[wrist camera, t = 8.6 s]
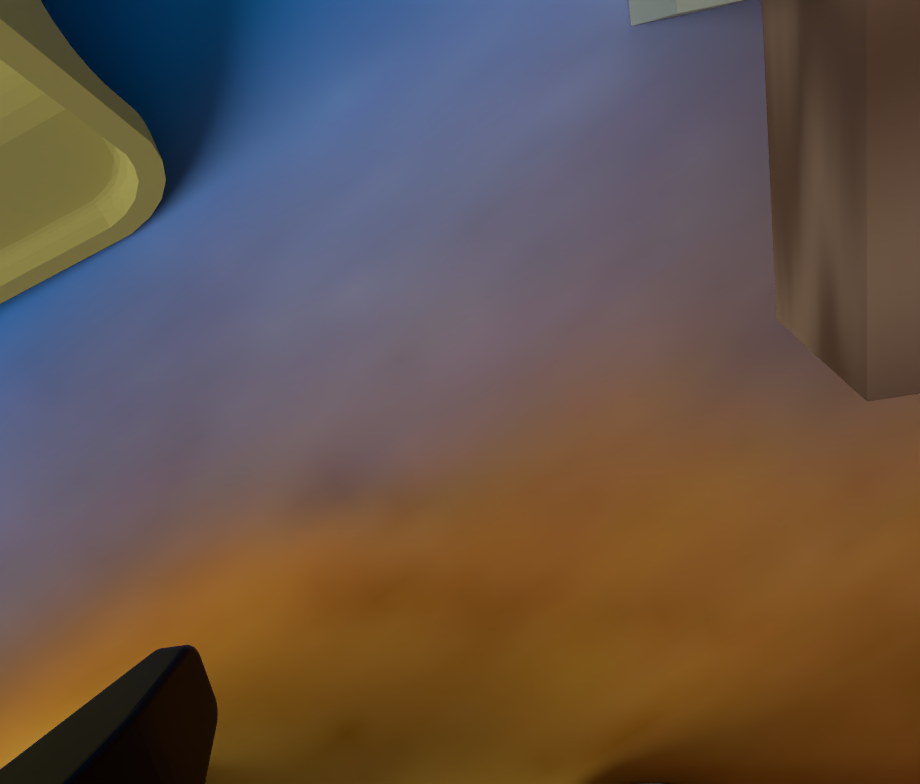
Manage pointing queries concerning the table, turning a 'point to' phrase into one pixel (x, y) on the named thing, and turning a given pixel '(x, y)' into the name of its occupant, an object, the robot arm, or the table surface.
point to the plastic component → (63, 154)
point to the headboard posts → (669, 8)
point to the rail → (847, 184)
